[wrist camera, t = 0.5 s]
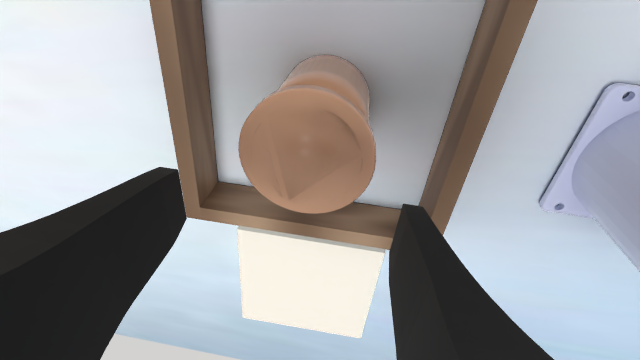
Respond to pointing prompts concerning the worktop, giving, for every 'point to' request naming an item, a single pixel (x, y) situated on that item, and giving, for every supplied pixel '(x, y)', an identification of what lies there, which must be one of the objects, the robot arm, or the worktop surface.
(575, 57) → the worktop surface
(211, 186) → the box
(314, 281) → the ceramic tile
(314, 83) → the terracotta pot
